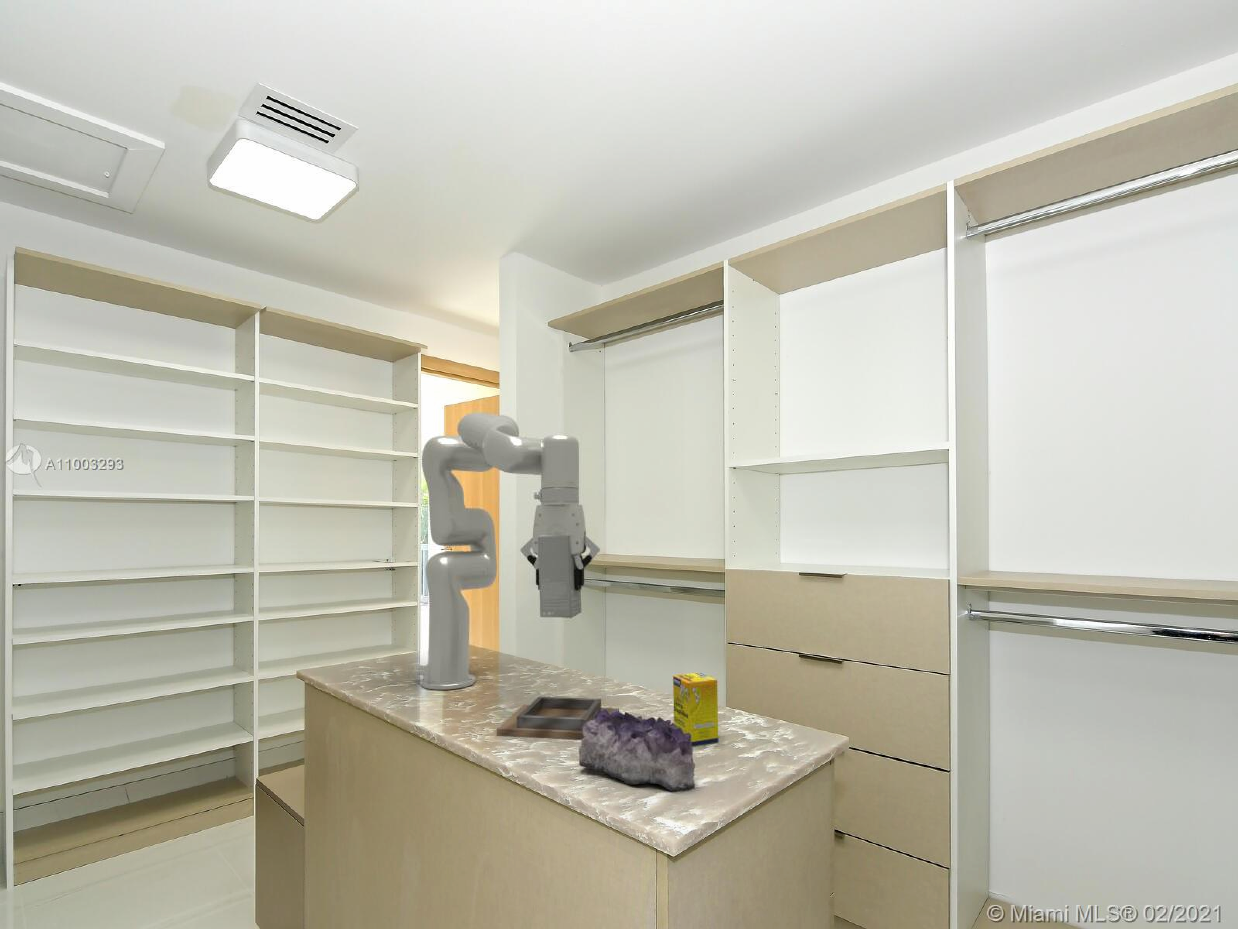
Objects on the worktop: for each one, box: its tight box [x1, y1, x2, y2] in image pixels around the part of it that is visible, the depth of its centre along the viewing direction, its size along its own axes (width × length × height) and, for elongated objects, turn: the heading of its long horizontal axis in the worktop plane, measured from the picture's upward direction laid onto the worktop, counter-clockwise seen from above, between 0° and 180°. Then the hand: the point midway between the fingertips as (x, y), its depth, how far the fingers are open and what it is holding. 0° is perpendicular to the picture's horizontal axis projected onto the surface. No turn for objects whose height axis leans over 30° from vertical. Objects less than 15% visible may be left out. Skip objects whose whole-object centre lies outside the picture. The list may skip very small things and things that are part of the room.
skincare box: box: [537, 534, 582, 619], centre depth 128 cm, size 8×7×16 cm
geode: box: [578, 709, 696, 793], centre depth 102 cm, size 20×12×10 cm, turn 54°
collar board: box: [496, 696, 620, 741], centre depth 126 cm, size 20×16×3 cm
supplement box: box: [672, 672, 719, 748], centre depth 117 cm, size 6×6×11 cm
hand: (560, 588), depth 128 cm, fingers closed on skincare box, 6 cm apart
